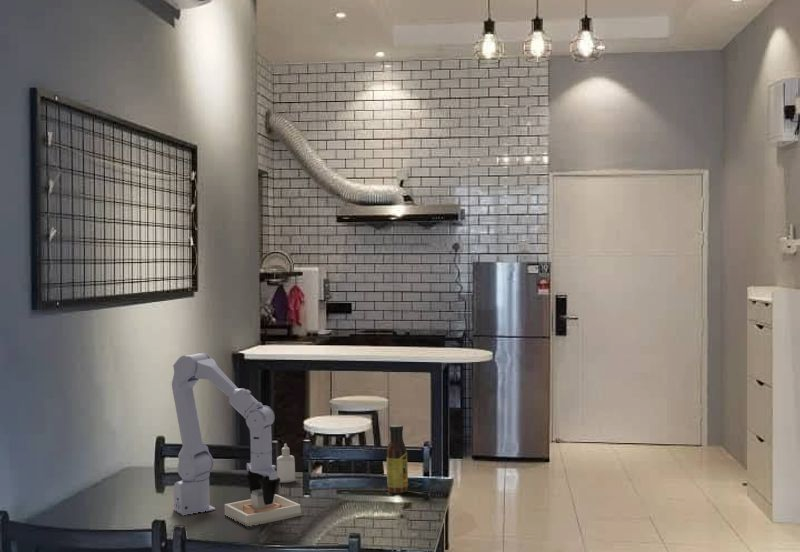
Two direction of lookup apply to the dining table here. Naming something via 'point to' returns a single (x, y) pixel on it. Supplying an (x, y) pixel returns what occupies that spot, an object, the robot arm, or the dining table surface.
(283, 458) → the eye dropper bottle
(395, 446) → the sauce bottle
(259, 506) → the grey plug
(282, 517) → the walled box
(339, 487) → the dining table surface
